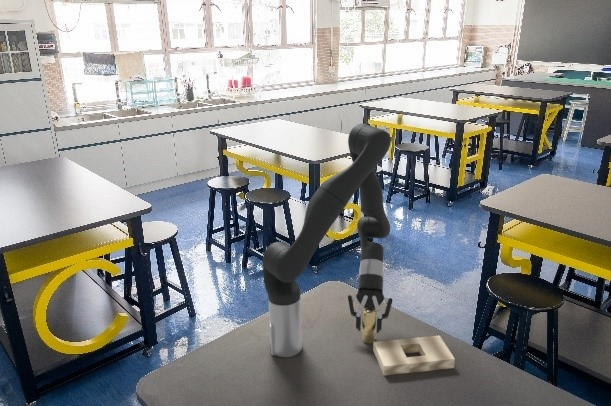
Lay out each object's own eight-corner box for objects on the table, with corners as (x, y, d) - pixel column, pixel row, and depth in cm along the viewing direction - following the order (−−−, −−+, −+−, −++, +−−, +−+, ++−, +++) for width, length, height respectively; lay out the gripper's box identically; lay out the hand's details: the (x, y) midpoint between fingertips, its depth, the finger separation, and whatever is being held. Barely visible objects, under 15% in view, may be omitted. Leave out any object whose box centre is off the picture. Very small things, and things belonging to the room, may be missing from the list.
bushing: (363, 344, 146) (364, 315, 142) (360, 336, 149) (361, 307, 146) (376, 342, 146) (377, 313, 143) (373, 334, 150) (374, 306, 146)
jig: (383, 375, 132) (384, 366, 131) (373, 350, 143) (373, 341, 142) (454, 367, 135) (454, 358, 134) (438, 343, 145) (439, 335, 144)
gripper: (347, 271, 150) (343, 327, 142) (394, 274, 147) (393, 331, 140) (348, 278, 156) (345, 332, 149) (394, 281, 154) (392, 335, 147)
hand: (368, 331), depth 145 cm, fingers open, 5 cm apart
